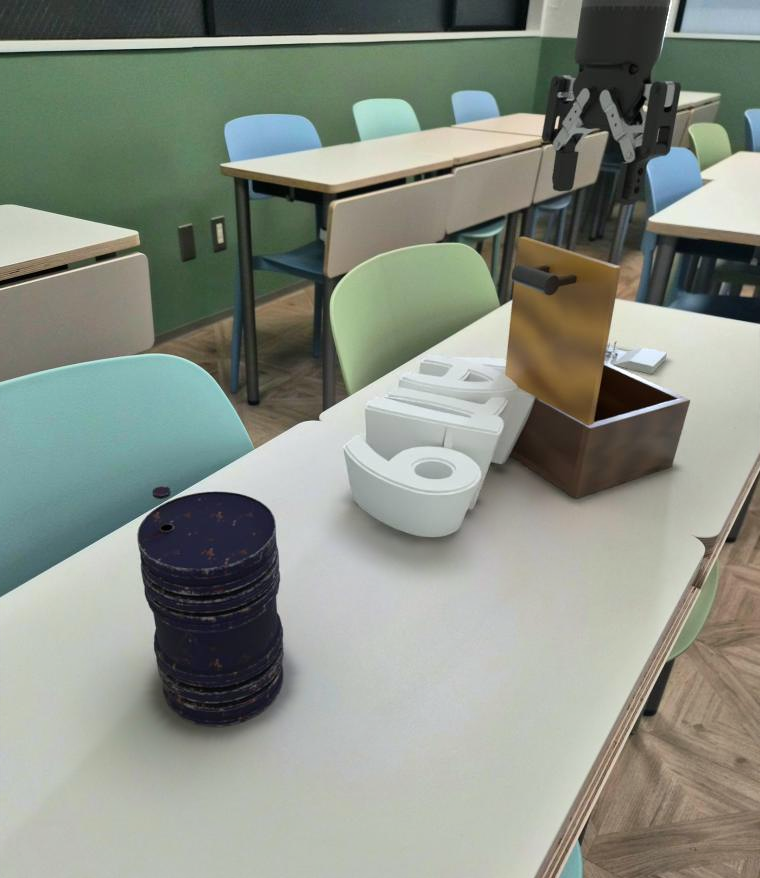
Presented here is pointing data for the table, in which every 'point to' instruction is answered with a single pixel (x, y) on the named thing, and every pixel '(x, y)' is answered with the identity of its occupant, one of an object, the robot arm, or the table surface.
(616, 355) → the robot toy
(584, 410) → the lid
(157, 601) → the navy speckled cylinder
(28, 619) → the table surface
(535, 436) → the brown wooden box
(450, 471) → the white letter sign
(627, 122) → the robot arm
